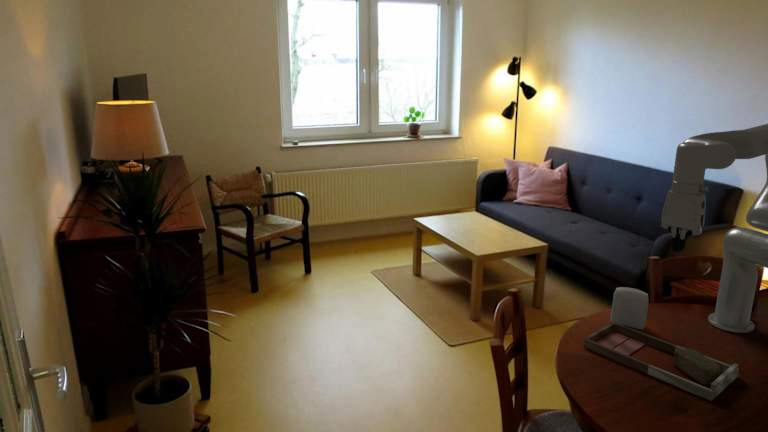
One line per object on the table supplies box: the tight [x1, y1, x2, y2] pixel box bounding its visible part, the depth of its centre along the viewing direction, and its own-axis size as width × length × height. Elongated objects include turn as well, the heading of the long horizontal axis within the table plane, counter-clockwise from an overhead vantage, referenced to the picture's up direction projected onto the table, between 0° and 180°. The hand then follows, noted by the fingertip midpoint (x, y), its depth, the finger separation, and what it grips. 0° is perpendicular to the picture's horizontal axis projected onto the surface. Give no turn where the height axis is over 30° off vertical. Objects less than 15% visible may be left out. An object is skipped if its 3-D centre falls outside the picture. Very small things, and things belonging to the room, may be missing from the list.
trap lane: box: [583, 322, 740, 402], centre depth 156 cm, size 17×36×4 cm, turn 39°
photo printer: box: [610, 286, 650, 330], centre depth 177 cm, size 10×4×12 cm, turn 59°
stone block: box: [672, 348, 723, 386], centre depth 150 cm, size 6×12×5 cm, turn 16°
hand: (677, 250), depth 159 cm, fingers closed
